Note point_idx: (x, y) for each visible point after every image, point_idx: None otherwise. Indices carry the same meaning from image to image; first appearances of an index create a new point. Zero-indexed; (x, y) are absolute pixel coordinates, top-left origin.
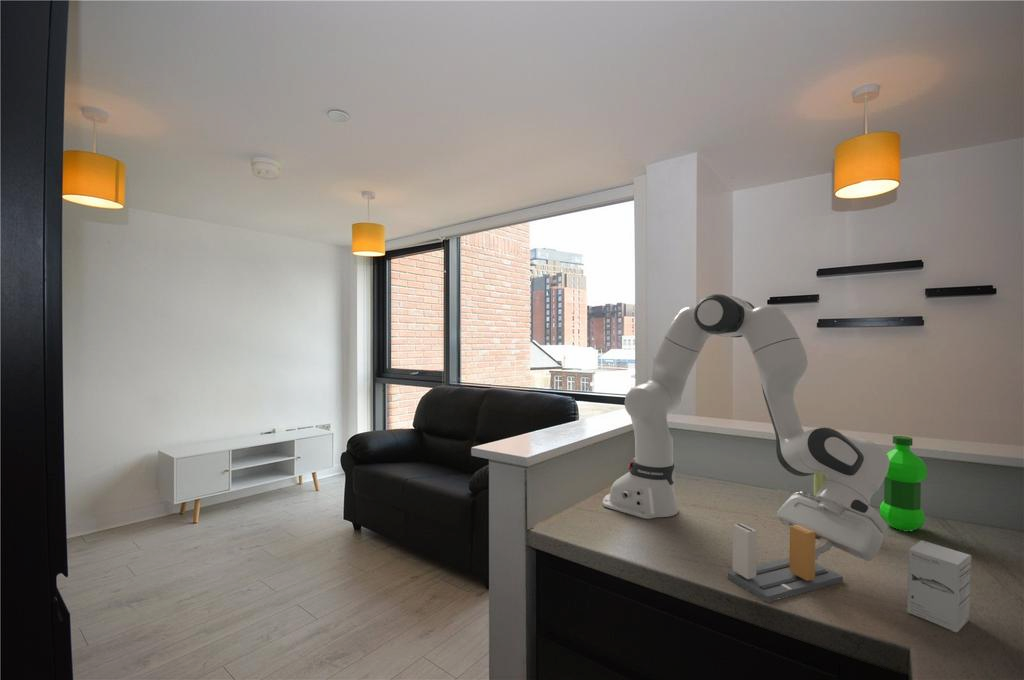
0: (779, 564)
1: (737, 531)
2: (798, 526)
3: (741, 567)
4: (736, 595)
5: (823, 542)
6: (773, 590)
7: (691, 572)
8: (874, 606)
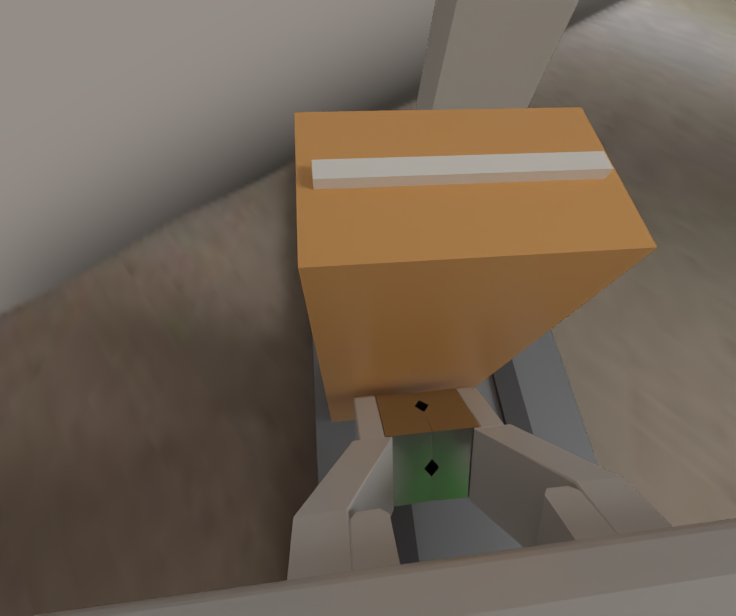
0: (532, 387)
1: None
2: (538, 162)
3: None
4: None
5: (324, 524)
6: None
7: None
8: (62, 602)
